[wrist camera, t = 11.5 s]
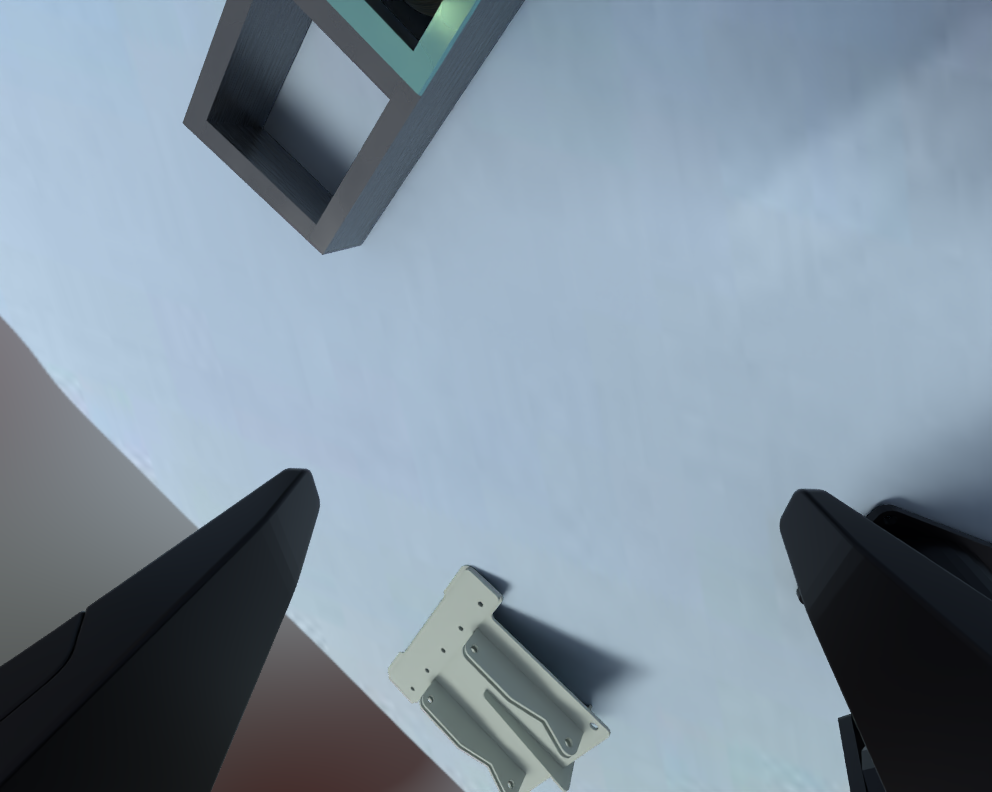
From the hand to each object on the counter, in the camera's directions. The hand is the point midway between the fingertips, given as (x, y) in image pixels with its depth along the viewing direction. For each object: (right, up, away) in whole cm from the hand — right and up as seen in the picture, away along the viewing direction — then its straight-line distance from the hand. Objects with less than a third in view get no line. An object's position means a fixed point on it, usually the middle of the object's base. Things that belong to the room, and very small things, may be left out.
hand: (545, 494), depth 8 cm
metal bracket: (-1, -17, +24) cm, 29 cm away
